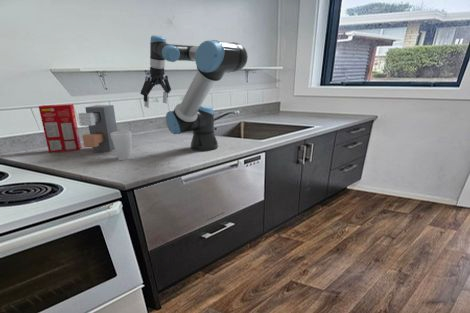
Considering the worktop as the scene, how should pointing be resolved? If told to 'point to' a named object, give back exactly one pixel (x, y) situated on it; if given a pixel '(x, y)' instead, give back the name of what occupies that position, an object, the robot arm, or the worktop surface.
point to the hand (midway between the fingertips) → (156, 104)
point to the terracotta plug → (92, 139)
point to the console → (104, 126)
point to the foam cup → (122, 144)
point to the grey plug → (89, 118)
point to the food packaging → (60, 127)
